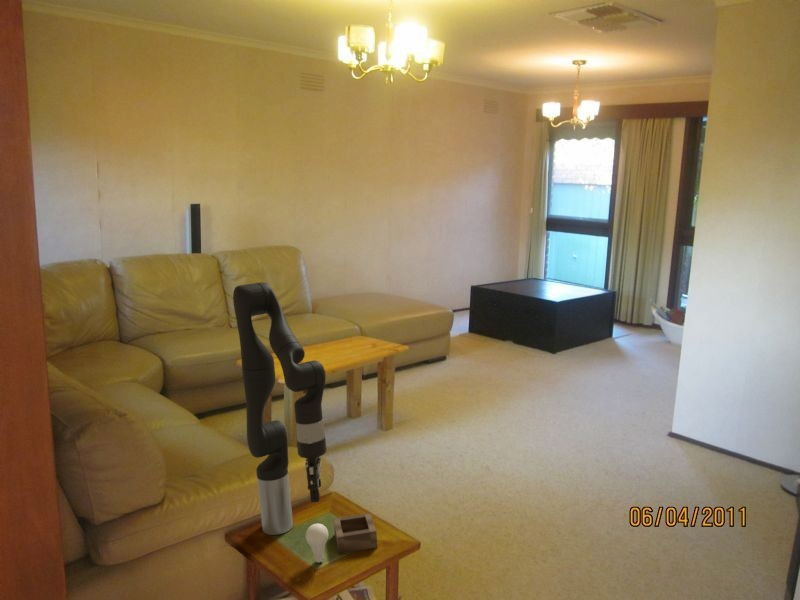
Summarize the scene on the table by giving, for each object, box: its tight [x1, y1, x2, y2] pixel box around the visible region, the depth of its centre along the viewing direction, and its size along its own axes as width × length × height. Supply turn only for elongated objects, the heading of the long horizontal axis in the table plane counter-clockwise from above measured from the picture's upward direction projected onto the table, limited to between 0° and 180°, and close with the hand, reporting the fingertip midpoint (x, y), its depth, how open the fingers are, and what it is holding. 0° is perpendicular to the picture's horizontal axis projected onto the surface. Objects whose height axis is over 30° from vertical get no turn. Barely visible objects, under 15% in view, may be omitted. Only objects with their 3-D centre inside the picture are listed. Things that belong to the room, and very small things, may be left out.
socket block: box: [333, 512, 378, 555], centre depth 187 cm, size 11×11×5 cm
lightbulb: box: [305, 523, 329, 564], centre depth 176 cm, size 6×6×11 cm
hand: (316, 494), depth 173 cm, fingers open, 8 cm apart
